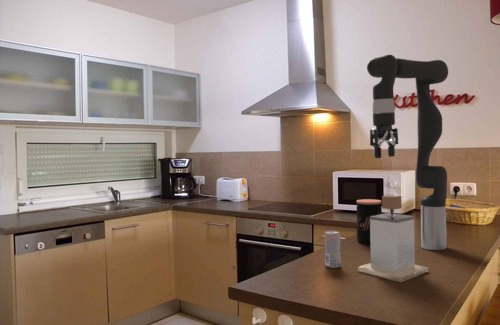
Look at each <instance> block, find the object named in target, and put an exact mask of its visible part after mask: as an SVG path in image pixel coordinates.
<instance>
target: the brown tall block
mask: <svg viewBox="0 0 500 325" xmlns="http://www.w3.org/2000/svg"><path fill="white" fill-rule="evenodd" d="M381 201H382V202H381V207H382V209H384V210H389V213H390V217H394V214H395V210H400V209H402V196H401V195H393V194H392V195H391V194H389V195H382V196H381Z"/></svg>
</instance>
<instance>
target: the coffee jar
mask: <svg viewBox="0 0 500 325" xmlns="http://www.w3.org/2000/svg"><path fill="white" fill-rule="evenodd" d="M356 204H357V205H356V239H357V241H358V242H359V243H360V244H361V243H362V244H366V245H370V216H375V215H380V214H383V213H382V212H383V210H382V209H383V208H382V199H381V200H380V199H371V198H370V199H369V198H367V199H365V198H364V199H357V200H356Z"/></svg>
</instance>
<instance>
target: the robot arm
mask: <svg viewBox="0 0 500 325" xmlns="http://www.w3.org/2000/svg"><path fill="white" fill-rule="evenodd" d="M448 67H449V66H448V65H447V63H446V62H445V60H441V59H434V60H429V61H423V60H422V61H421V60H413V59H412V60H411V59H406V58H400V57H398V58H397V57H396V56H394V55H392V54H385V55H381V56H377V57H374V58H372V59H370V60H369V61H368V63H367V64H366V70H367V72H368V74H369V75H370V76H371V77H373V78H378V79H379V78H381V80H380V81H379V82H378V83H375V84H374V85H373V86H372V99H373V100H372V124H373V126H374V127H375V128H371V129H370V130H369V145H370V146H371V147H373V148H374V158H375V159H381V158H382V144H383V143H384V142H385V143H386V144H387V154H388V155H387V156H388V157H390V158H393V157H395V156H396V155H395V154H396V152H395V151H396V150H395V147H396V146H397V145H398V144H399V134H398V133H399V131H398V130H399V129H398V128H397V127H393V126H395V124H396V115H395V111H396V110H395V101H394V86H395V81H396V79H415V87H416V89H415V90H416V96H417V97H416V98H417V156H416V157H417V158H416V167H415V168H416V169H415V170H416V171H415V179H416V180H415V182H416V184H417V186H418V187H419V188H420V189H432V190H433V191H432V194H430V195H428V196H424V197H422V198H421V199H420V240H421V241H420V242H421V243H420V244H421V246H420V247H421V249H424V250H429V251H443V250H446V249H447V218H446V217H447V216H446V215H447V214H446V213H447V212H446V211H447V210H446V209H447V208H446V205H447V204H446V202H447V190H448V189H447V188H448V172H447V170H446V167H445V166H441V165H430V156H431V154H432V151H433V149H434V148H435V146H436V145H437V143H438V142H439V140H440V139H441V136H442V135H443V116H442V113H441V112H440V109H439V108H438V106H437V105H436V104H435V102H434V101H433V98H432V95H431V89H430V87H431V86H430V85H434V84H435V85H436V84H439V83H442V82H444V81H446V79H447V78H448V76H449V68H448Z"/></svg>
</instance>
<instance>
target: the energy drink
mask: <svg viewBox="0 0 500 325" xmlns="http://www.w3.org/2000/svg"><path fill="white" fill-rule="evenodd" d="M324 265H325V267H326V268H332V269H333V268H339V267H341V233H340V231H338V230H326V231H325V232H324Z"/></svg>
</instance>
